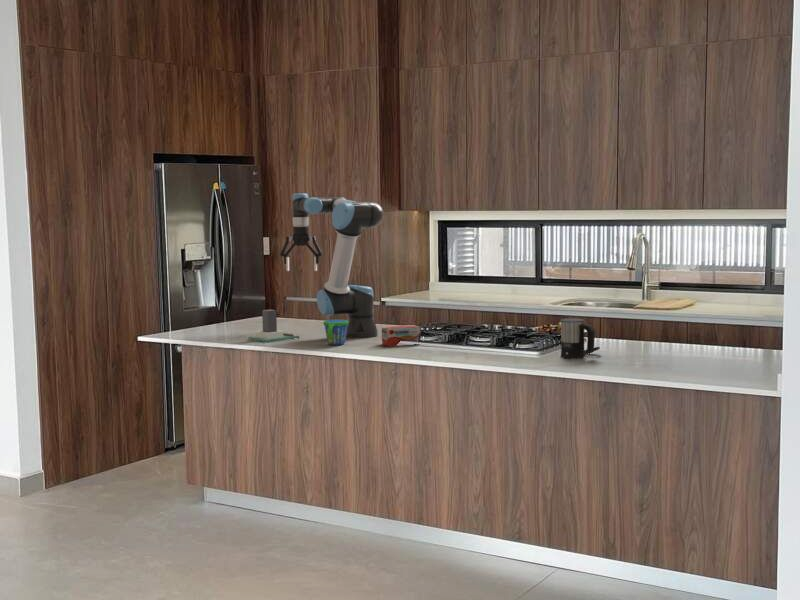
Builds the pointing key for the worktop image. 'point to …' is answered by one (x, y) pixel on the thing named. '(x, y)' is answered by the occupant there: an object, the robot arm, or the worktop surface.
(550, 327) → the plate of food
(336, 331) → the snack cup
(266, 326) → the gray rounded block
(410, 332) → the medicine box
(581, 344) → the milk frother
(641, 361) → the worktop surface
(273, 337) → the board
